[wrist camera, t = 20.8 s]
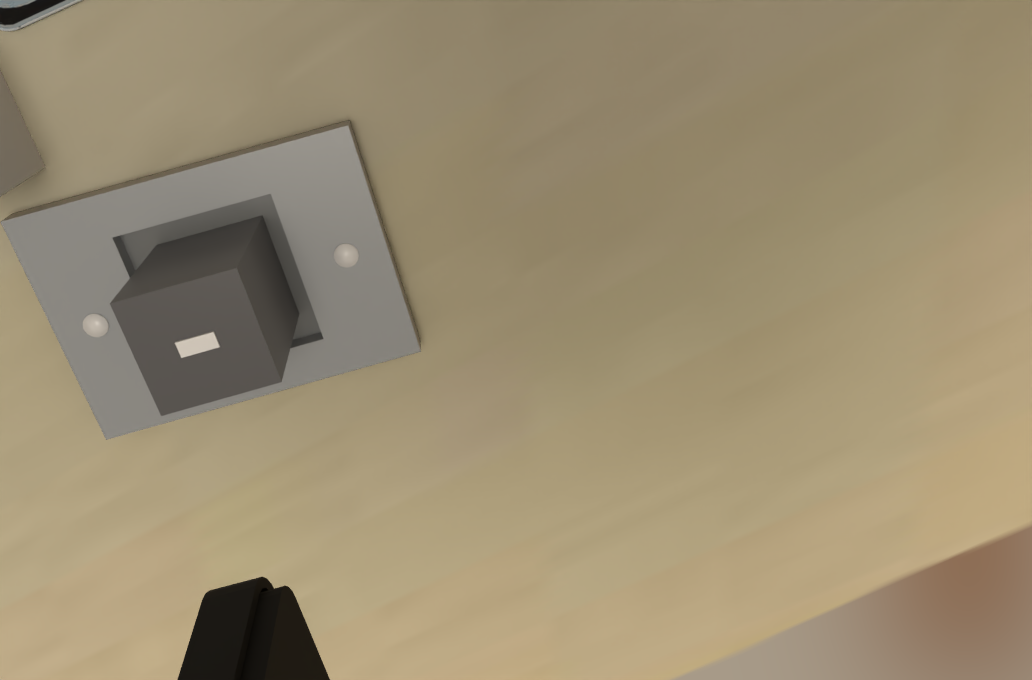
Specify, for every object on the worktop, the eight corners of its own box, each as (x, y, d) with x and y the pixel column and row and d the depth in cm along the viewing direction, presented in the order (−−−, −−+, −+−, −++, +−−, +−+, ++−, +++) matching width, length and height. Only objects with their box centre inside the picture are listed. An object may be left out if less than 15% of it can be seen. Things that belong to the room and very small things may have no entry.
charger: (262, 215, 40) (236, 268, 33) (299, 313, 41) (281, 383, 35) (156, 244, 40) (109, 304, 33) (197, 342, 41) (160, 417, 35)
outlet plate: (349, 119, 39) (347, 125, 38) (420, 340, 43) (420, 352, 42) (11, 213, 39) (-1, 222, 38) (113, 426, 43) (105, 440, 42)
